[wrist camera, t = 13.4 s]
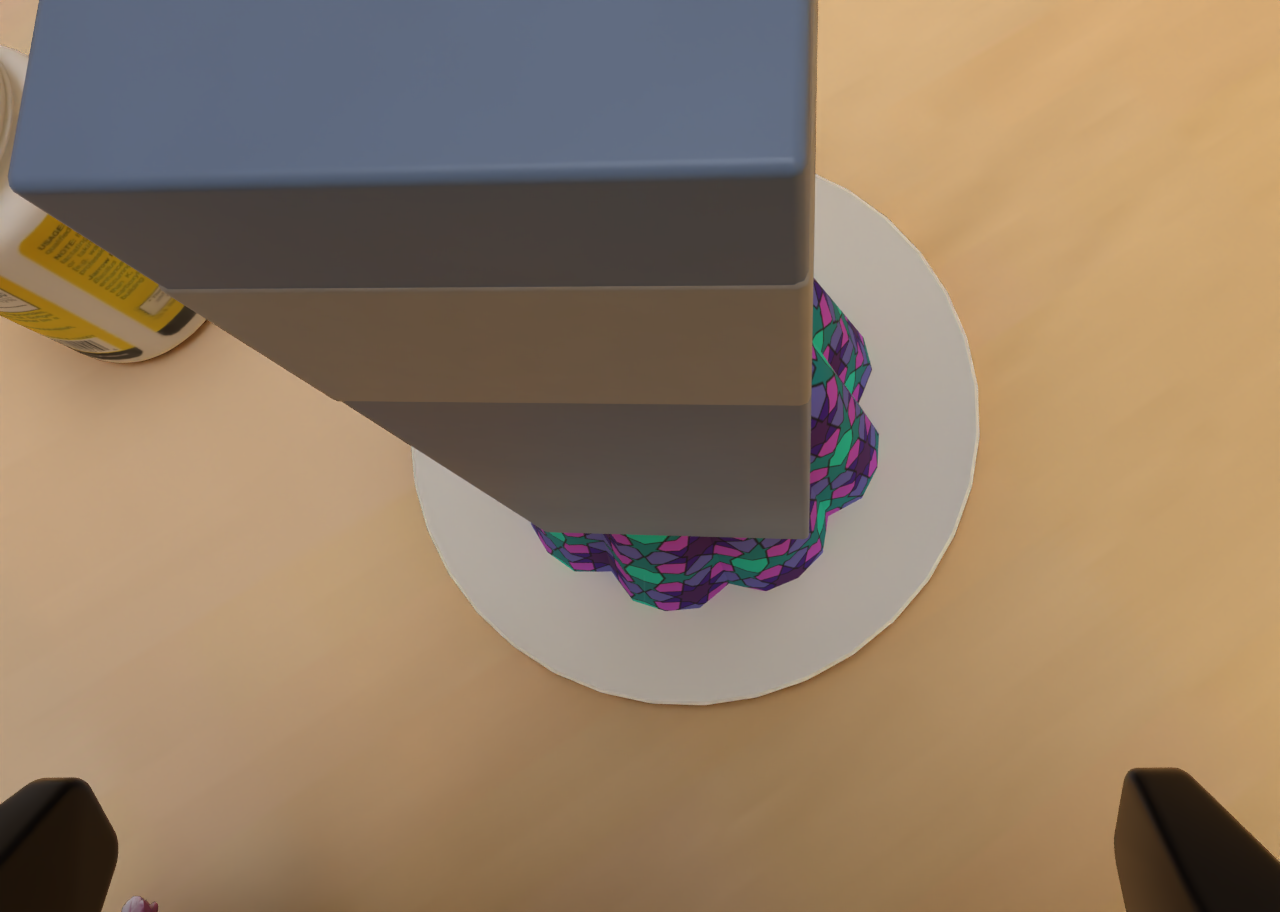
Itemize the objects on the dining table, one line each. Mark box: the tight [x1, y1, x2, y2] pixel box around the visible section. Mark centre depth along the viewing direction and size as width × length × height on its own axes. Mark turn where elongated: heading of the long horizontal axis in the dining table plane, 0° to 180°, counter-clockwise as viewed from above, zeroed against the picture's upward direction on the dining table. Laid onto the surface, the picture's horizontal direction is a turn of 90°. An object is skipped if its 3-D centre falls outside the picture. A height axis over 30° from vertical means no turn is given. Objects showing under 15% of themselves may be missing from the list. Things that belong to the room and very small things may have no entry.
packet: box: [8, 0, 818, 539], centre depth 13 cm, size 6×4×13 cm
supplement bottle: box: [0, 45, 206, 363], centre depth 23 cm, size 5×5×8 cm
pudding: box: [411, 174, 980, 705], centre depth 22 cm, size 12×12×5 cm
